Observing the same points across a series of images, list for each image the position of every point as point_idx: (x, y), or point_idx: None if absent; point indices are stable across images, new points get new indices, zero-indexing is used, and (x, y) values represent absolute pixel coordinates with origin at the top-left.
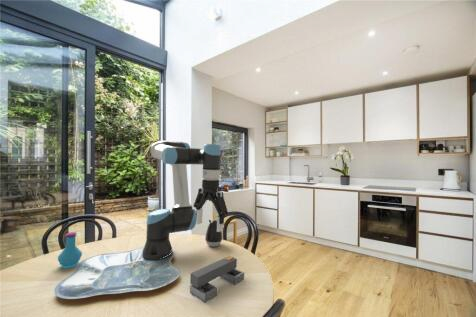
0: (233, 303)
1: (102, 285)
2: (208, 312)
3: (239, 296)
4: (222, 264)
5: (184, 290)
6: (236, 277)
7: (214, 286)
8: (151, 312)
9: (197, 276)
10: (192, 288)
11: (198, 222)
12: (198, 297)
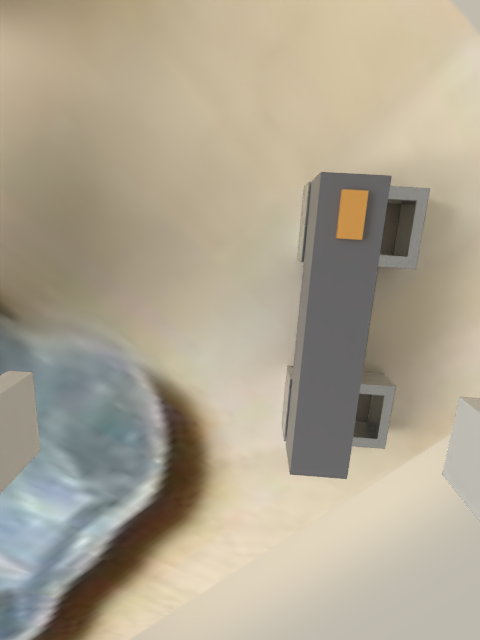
0: (467, 368)
1: (10, 570)
2: (417, 454)
3: (465, 319)
4: (362, 305)
5: (252, 425)
6: (416, 256)
7: (378, 387)
8: (267, 550)
9: (341, 475)
10: None
11: (25, 450)
12: None
